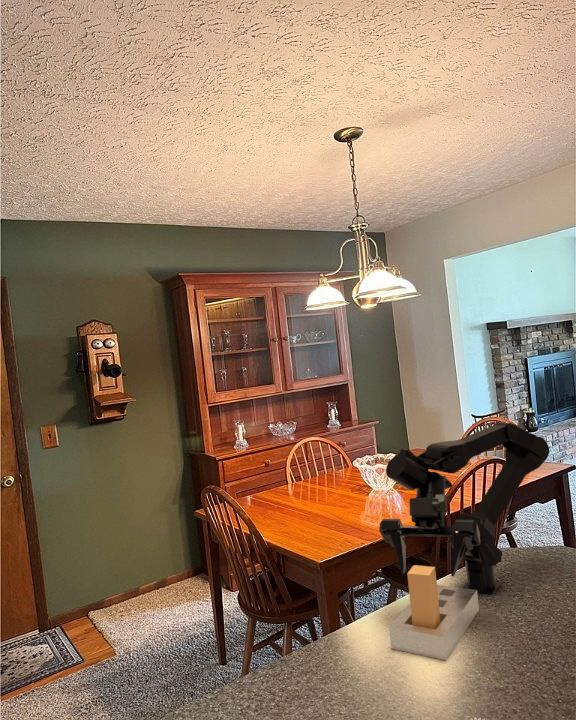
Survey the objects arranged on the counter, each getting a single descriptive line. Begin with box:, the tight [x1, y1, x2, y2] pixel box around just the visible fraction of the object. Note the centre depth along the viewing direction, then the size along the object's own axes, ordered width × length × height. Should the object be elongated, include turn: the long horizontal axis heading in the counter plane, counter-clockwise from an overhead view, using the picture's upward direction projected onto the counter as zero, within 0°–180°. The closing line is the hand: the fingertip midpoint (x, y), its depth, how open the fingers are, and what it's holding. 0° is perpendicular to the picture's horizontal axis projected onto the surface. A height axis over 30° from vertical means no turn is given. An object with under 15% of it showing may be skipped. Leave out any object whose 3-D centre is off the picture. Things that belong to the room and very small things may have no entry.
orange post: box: [407, 564, 441, 630], centre depth 103 cm, size 4×4×13 cm
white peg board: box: [388, 584, 480, 661], centre depth 107 cm, size 20×10×4 cm, turn 146°
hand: (427, 574), depth 107 cm, fingers open, 9 cm apart
